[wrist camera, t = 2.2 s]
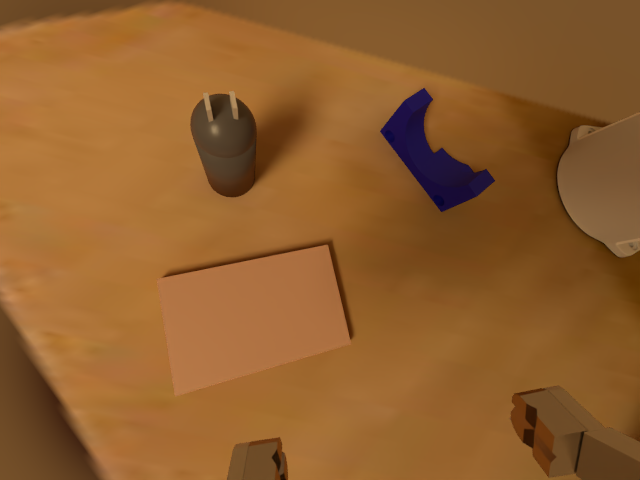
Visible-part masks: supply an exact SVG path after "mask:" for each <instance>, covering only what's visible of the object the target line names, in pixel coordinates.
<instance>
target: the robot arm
mask: <svg viewBox="0 0 640 480" xmlns="http://www.w3.org/2000/svg"><path fill="white" fill-rule="evenodd" d="M557 181H558V188H559V193H560V196H561V199H562V202H563V204H564V206H565V208H566V210H567V212H568V214H569V215H570V217H571V218H572V220H573V221H574V222H575V223H576V224H577V225H578V226H579V227H580V228H581V229H582V230H583V231H584V232H585V233H587V234H588V235H590V236H591V237H593V238H595V239H597V240H599V241H601V242H603V243H604V244H605V245H606V246H607V247H608V248H609V249H610V250H611V251H612V252H613V253H614V254H615V255H617V256H618V257H626V256H631V255H633V254H634V253H636V252H637V251H639V250H640V112H638V113H635V114H633V115H631V116H629V117H626V118H624V119H622V120H619V121H617V122H615V123H612V124H610V125H608V126H605V127H595V126H587V125H581V126H579V127H576V128H574V129H573V130H572V132H571V136H570V144H569V146H568V148H567V150H566V151H565V152H564V154H563V155H562V157H561V160H560V162H559V166H558V173H557ZM512 403H513V404H514V405H515V407H514V408H513V410H512V411H511V421H512V424H513V428H514V430H515V431H516V433H517V435H518V437H519V438H520V439H521V441H522V442H523V443H524V444H526V445H528V446H529V447H531V448H532V452H533V457H534V459H535V460H536V461H537V463H538V464H539V465H540V467H541V468H542V469H543V471H544V472H545V473H546V475H547V476H548V477H556V476H563V475H569V474H576V476H578V477H579V478H581V479H582V480H640V442H639V441H637V440H635V439H633V438H631V437H629V436H627V435H625V434H623V433H620V432H618V431H616V430H614V429H612V428H610V427H609V428H605V427H604V426H603V425H601V424H600V423H599V422H598V421H597V420H596V419H595V418H594V417H593V416H592V415H591V414H590V413H589V412H588V411H587V410H586V409H585V408H583V407H582V406H581V405H580V404H579V403H578V402H577V401H576V400H575V399H574V398H573V397H572V396H571V395H570V394H569V393H568V392H567V391H565V390H564V389H563V388H562V387H560V386H552V387H547V388H543V389H542V388H540V389H535V390H530V391H525V392H520V393H515V394H514V395H513V396H512ZM227 480H288V469H287V461H286V456H285V453H284V452H282V442H281V439H280V437H278V438H272V439H265V440H259V441H252V442H246V443H240V444H236V445H235V447H234V449H233V452H232V457H231V462H230V467H229V472H228V477H227Z"/></svg>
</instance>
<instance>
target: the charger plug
mask: <svg viewBox="0 0 640 480" xmlns="http://www.w3.org/2000/svg"><path fill="white" fill-rule="evenodd" d="M229 94H230V95H227V94H214V95H210V96H209V95H208V93H203V96H204V99H202V100H201V101H200V102H199V103H198V104H197V105H196V107H195V108H194V110H193V113H192V116H191V124H190V126H191V132H192V136H193V139H194V141H195V144H196V147H197V150H198V153H199V156H200V158H201V161H202V164H203V167H204V170H205V173H206V176H207V178H208V181H209V184H210V185H211V187H212V188H213V189H214V190H215V191H216V192H217V193H219V194H220V195H223V196H226V197H238V196H241V195H243V194H245V193H247V192H248V191H249V190H250V188H251V187H252V185H253V183H254V176H255V154H256V123H255V119H254V117H253V114H252V113H251V111H250V110H249V108H248V107H247V106H246V105H245V104H244V103H243V102H242V101H240V100H239V99H237V98H235V93H234V91H229Z"/></svg>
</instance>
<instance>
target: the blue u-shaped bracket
mask: <svg viewBox="0 0 640 480" xmlns="http://www.w3.org/2000/svg"><path fill="white" fill-rule="evenodd" d="M432 100H433V99H432V97H431V96H430V95H429V93H428V92H427V91H426V90H425V88H423V89H422V90H420V91H419V92H417V93H415V94H414V95H412V96H411V97H409V98H408V99H406V100H405V101H404V102H403V103H402V104H401V105H400V107H399V108H398V109H397V111H396V112H395V113H394V114H393V116H392V117H391V118H390V119H389V121H388V122H387V123H386V124H385V126H384V127H383V128H382V129H381V131H380V132H381V133H382V135H383V136H384V137H385V138H386V140H387V141H388V142H389V144H390V145H391V146H392V148H393V149H394V150H395V152H396V153H397V154H398V156H399V157H400V158H401V159H402V161H403V162H404V163H405V165H406V166H407V167H408V169H409V170H410V171H411V173H412V174H413V175H414V177H415V178H416V179H417V181H418V182H419V183H420V184H421V186H422V187H423V188H424V190H425V191H426V192H427V194H428V195H429V196H430V198H431V199H432V200H433V202H434V203H435V204H436V206H437V207H438V208H439V209H440V211H441V212H443V211H445V210H447V209H449V208H452V207H454V206H456V205H458V204H461V203H463V202H465V201H467V200H470V199H472V198H474V197H477V196H478V195H479V194H480V193H481V192H483V191H484V190H485V189H486V188H487V187H488V186H490V185H491V184H492V183H493V182H494V181H495V180H494V179H493V177H492V176H491V175H490V173H489V172H488V171H487V169H485V170H483V171H480V172H476V173H474V172H473V171H472V169H471V168H470V167H469V165H466V164H463V163H461V162H459V161H457V160H455V159H454V158H452V157H451V156H450V155H448V154H447V153H446V152H445V151H444V149H443V148H441V149H440V150H439V151H437V152H436V153H435V154H434V153H433V152H432V151H431V149H430V147H429V145H428V143H427V140H426V137H425V133H424V116H425V113H426V110H427V108H428V106H429V104H430V103H431V101H432Z"/></svg>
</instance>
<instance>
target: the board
mask: <svg viewBox="0 0 640 480" xmlns="http://www.w3.org/2000/svg"><path fill="white" fill-rule="evenodd" d="M157 284H158V290H159V297H160V303H161V309H162V316H163V322H164V328H165V335H166V341H167V347H168V354H169V360H170V367H171V373H172V379H173V386H174V392H175V396H178V395H181V394H185V393H188V392H191V391H195V390H198V389H201V388H205V387H208V386H211V385H215V384H218V383H222V382H225V381H228V380H232V379H235V378H238V377H242V376H245V375H248V374H252V373H255V372H259V371H262V370H265V369H269V368H272V367H275V366H279V365H282V364H285V363H289V362H292V361H295V360H299V359H302V358H306V357H309V356H312V355H316V354H319V353H322V352H326V351H329V350H332V349H336V348H339V347H343V346H346V345H349V344H351V341H350V337H349V332H348V328H347V324H346V320H345V315H344V311H343V307H342V303H341V298H340V294H339V290H338V286H337V281H336V277H335V273H334V269H333V264H332V260H331V256H330V251H329V247H328V245H323V246H318V247H313V248H308V249H303V250H298V251H293V252H288V253H283V254H278V255H273V256H268V257H264V258H259V259H254V260H249V261H244V262H239V263H234V264H229V265H224V266H219V267H214V268H209V269H204V270H199V271H194V272H189V273H184V274H179V275H174V276H169V277H164V278H159V279H157Z"/></svg>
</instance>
